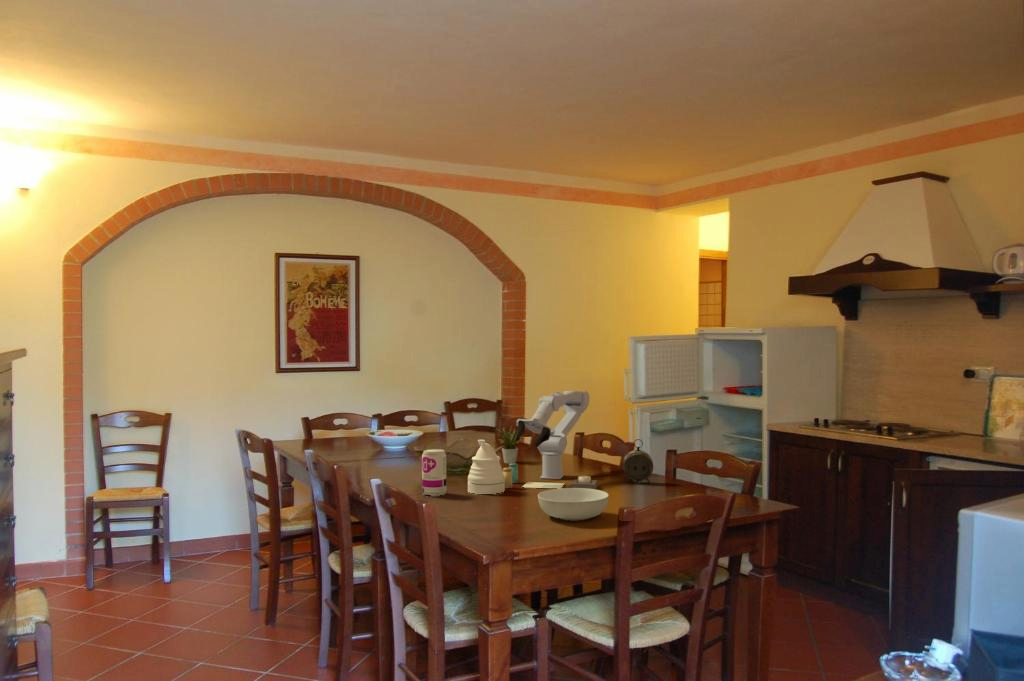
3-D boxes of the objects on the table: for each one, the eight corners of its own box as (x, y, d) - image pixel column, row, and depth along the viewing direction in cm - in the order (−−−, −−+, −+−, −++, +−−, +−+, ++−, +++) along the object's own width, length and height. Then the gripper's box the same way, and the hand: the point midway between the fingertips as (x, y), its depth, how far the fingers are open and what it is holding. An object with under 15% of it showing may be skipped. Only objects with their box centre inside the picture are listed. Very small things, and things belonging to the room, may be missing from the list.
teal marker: (510, 481, 278) (510, 463, 278) (518, 482, 277) (518, 463, 277) (508, 483, 275) (508, 464, 275) (516, 483, 274) (516, 464, 274)
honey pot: (482, 496, 252) (482, 443, 252) (460, 490, 262) (460, 439, 262) (512, 491, 260) (512, 439, 260) (489, 486, 270) (489, 436, 270)
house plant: (485, 464, 319) (485, 426, 319) (496, 459, 332) (496, 422, 333) (517, 465, 315) (517, 427, 315) (527, 460, 328) (527, 423, 328)
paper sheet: (527, 482, 276) (527, 481, 276) (564, 484, 273) (564, 483, 273) (521, 487, 266) (521, 487, 266) (560, 489, 263) (560, 488, 263)
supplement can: (434, 497, 250) (434, 452, 250) (417, 494, 255) (417, 450, 255) (451, 493, 256) (451, 450, 256) (433, 491, 261) (433, 448, 261)
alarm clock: (652, 482, 276) (652, 438, 276) (653, 484, 271) (653, 440, 271) (622, 481, 277) (622, 438, 277) (623, 484, 272) (623, 439, 272)
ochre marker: (504, 487, 268) (503, 467, 268) (513, 487, 267) (512, 467, 267) (501, 488, 265) (501, 468, 265) (511, 489, 264) (510, 469, 264)
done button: (579, 483, 267) (579, 475, 267) (591, 484, 266) (591, 475, 266) (577, 486, 263) (577, 477, 263) (589, 486, 262) (589, 478, 262)
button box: (574, 486, 269) (574, 479, 269) (597, 486, 267) (596, 480, 267) (571, 490, 261) (571, 483, 261) (594, 491, 259) (594, 484, 259)
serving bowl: (564, 506, 236) (564, 484, 236) (622, 516, 222) (622, 493, 222) (523, 518, 219) (523, 495, 219) (582, 529, 206) (582, 504, 206)
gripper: (522, 405, 279) (508, 428, 269) (559, 415, 274) (545, 439, 264) (522, 419, 283) (508, 442, 273) (558, 429, 278) (545, 453, 268)
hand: (526, 441), depth 269 cm, fingers open, 7 cm apart
